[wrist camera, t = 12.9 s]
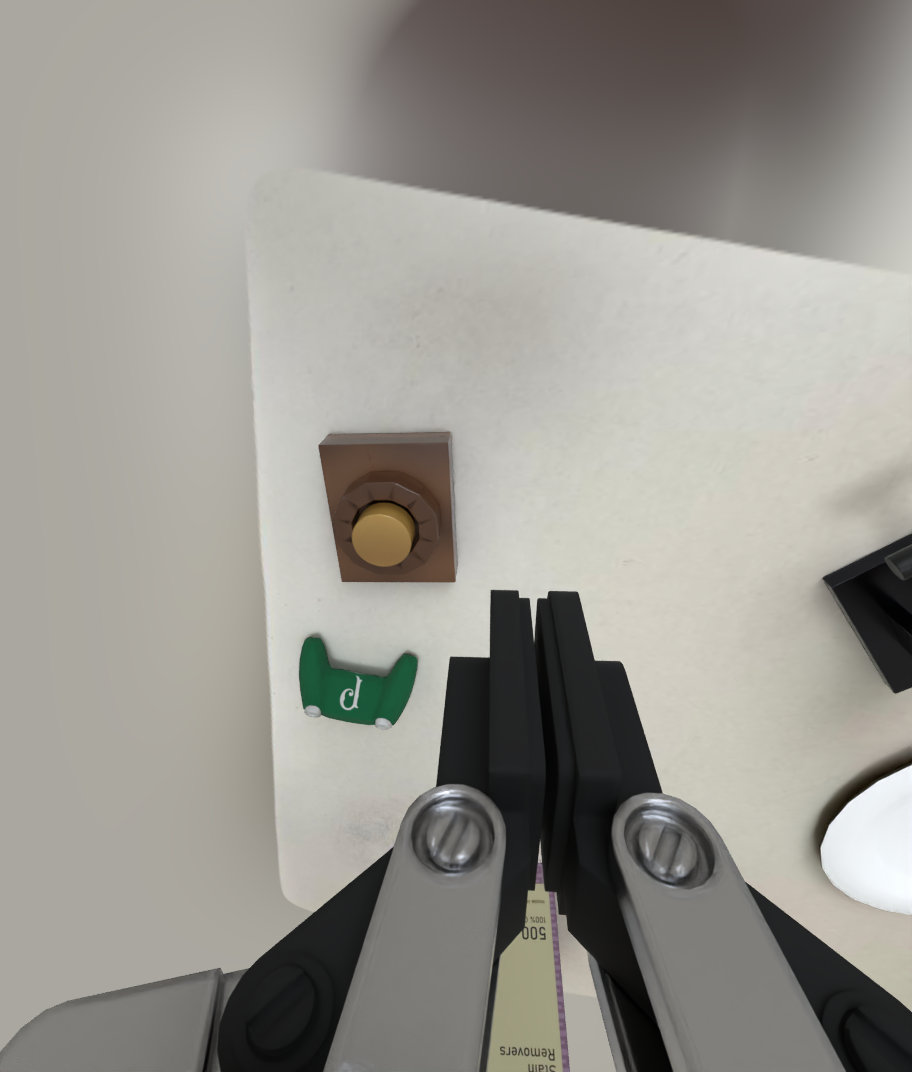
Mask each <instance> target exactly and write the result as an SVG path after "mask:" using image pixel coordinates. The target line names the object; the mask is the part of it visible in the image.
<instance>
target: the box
mask: <svg viewBox="0 0 912 1072" xmlns="http://www.w3.org/2000/svg"><path fill="white" fill-rule="evenodd" d="M488 1072H570V1067H569V1056H568V1045H567V1033H566V1022H565V1011H564V999H563V987H562V975H561V964H560V953H559V941H558V930H557V918H556V907H555V895H554V892H546V891H545V889H544V880H543V868H542V863H538V864H537V874H536V884H535V891H528V898H527V909H526V920H525V928H524V929H523V930H522V931H521V932H520V934H519V935H518V936H517V937H516V938H515V939H514V940H513V942H512V943H511V944H510V945H509V946H508V947H507V948H506V949H505V951H504V952H503V953H502V954H501V961H500V969H499V978H498V986H497V995H496V1003H495V1012H494V1021H493V1029H492V1038H491V1046H490V1055H489V1063H488Z"/></svg>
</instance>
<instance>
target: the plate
mask: <svg viewBox="0 0 912 1072" xmlns="http://www.w3.org/2000/svg"><path fill="white" fill-rule="evenodd" d="M820 857H821V866H822V868H823V870H824V871H825V873H826V874H827V876H828V878H829V879H830V881H831V882H832V884H833V885H834V886H835V887H837V888H838V889H839V890H841V891H842V892H844V893H845V894H846V895H848V896H849V897H851V898H852V899H854V900H857V901H859V902H862V903H865V904H867V905H870V906H873V907H875V908H878V909H881V910H886V911H892V912H897V913H903V914H909V915H912V762H911V763H908V764H906V765H904V766H902V767H900V768H898V769H896V770H894V771H892V772H890V773H888V774H886V775H884V776H882V777H880V778H878V779H876V780H875V781H873V782H872V783H871V784H869V785H868V786H867V787H865V788H864V789H862V790H861V791H860V792H858V793H857V794H856V795H854V796H853V797H851V798H850V799H849V800H848V801H847V802H846V803H845V804H844V805H843V807H842V808H841V809H840V810H839V811H838V812H837V814H836V815H835V816H834V817H833V818H832V820H831V821H830V822H829V823H828V825H827V828H826V830H825V833H824V835H823V838H822V841H821V843H820Z"/></svg>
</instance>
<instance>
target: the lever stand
mask: <svg viewBox="0 0 912 1072" xmlns="http://www.w3.org/2000/svg"><path fill="white" fill-rule="evenodd" d="M911 544H912V534H910V535H908V536H906V537H904V538H902V539H900V540H898V541H896V542H894V543H892V544H890V545H888V546H886V547H884V548H882V549H880V550H878V551H876V552H874V553H872V554H870V555H868V556H866V557H864V558H862V559H860V560H858V561H856V562H854V563H852V564H850V565H848V566H846V567H844V568H842V569H840V570H838V571H836V572H834V573H832V574H829V575H827V576H825V577H823V580H824V582H825V584H826V585H827V587H828V589H829V590H830V592H831V594H832V595H833V597H834V599H835V600H836V602H837V604H838V605H839V607H840V609H841V610H842V612H843V614H844V615H845V617H846V619H847V620H848V622H849V624H850V625H851V627H852V629H853V631H854V632H855V634H856V636H857V637H858V639H859V641H860V642H861V644H862V646H863V647H864V649H865V651H866V652H867V654H868V656H869V657H870V659H871V661H872V662H873V664H874V666H875V667H876V669H877V671H878V672H879V674H880V676H881V677H882V679H883V681H884V682H885V684H886V685H887V686H888V687H889V688H890V689H891V690H892V691H893V693H895V694H896V693H899V692H901V691H904V690H906V689H909V688H911V687H912V577H911V578H909V579H907V580H902V579H900V578H899V577H898V576H896V575H895V574H894V573H893V571H892V570H891V569H890V568H889V566H888V565H887V563H886V561H885V557H887V556H889V555H891V554H893V553H895V552H897V551H899V550H901V549H903V548H905V547H907V546H909V545H911Z"/></svg>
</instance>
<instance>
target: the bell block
mask: <svg viewBox="0 0 912 1072" xmlns="http://www.w3.org/2000/svg"><path fill="white" fill-rule="evenodd" d="M319 452H320V458H321V463H322V469H323V475H324V481H325V486H326V492H327V498H328V504H329V509H330V515H331V521H332V527H333V532H334V538H335V544H336V550H337V555H338V561H339V567H340V573H341V578H342V582H455V581H456V574H457V566H458V565H457V544H456V523H455V502H454V482H453V461H452V440H451V432H426V433H377V434H329V435H328V436H327V437H326V438H325V439H324V440H323V441H322V442H321V443H320V444H319ZM382 502H386V503H392V504H395V505H398V506H400V507H401V508H403V509H404V510H405V511H406V512H407V513H408V514H409V515H410V516H411V518H412V520H413V522H414V525H415V536H414V539H413V542H412V546H411V549H410V552H409V554H408V555H407V557H406V558H405V559H404V560H403V561H402V562H400V563H398V564H396V565H393V566H388V567H381V566H376V565H373V564H370V563H368V562H366V561H365V560H363V559H362V558H361V557H360V556H359V555H358V554H357V552H356V551H355V549H354V546H353V543H352V532H353V529H354V527H355V525H356V523H357V521H358V519H359V517H360V515H361V514H362V512H363V511H364V510H365V509H366V508H367V507H369V506H371V505H373V504H376V503H382Z"/></svg>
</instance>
